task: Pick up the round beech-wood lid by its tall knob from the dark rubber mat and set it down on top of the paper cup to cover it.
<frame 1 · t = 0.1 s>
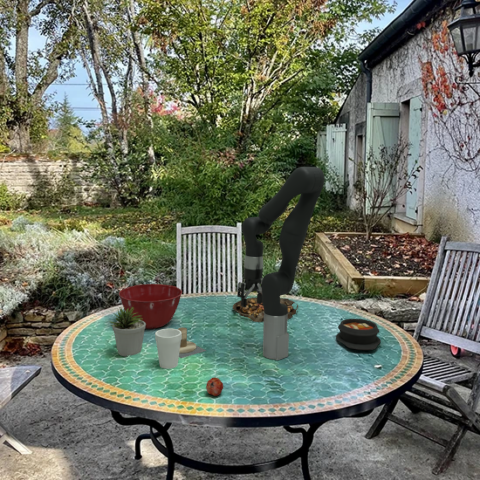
hand: (251, 305, 195), 17 cm above the table, tool pointing down, fingers open, 8 cm apart
mat: (182, 350, 192), on the table
food dish: (266, 312, 244), on the table
lid: (182, 348, 192), point 1 cm above the table, touching mat
casserole: (357, 343, 203), on the table
potted plant: (128, 353, 188), on the table
foam cup: (168, 367, 176), on the table
pomegranate: (214, 394, 156), on the table
mixing bowl: (151, 324, 222), on the table
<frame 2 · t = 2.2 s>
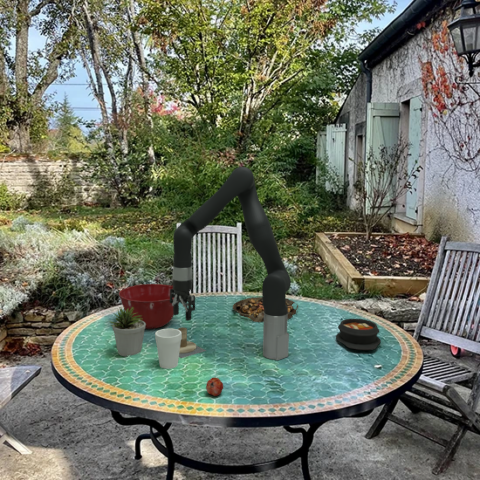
hand: (182, 317, 190), 13 cm above the table, tool pointing down, fingers open, 8 cm apart
nothing on the table moved.
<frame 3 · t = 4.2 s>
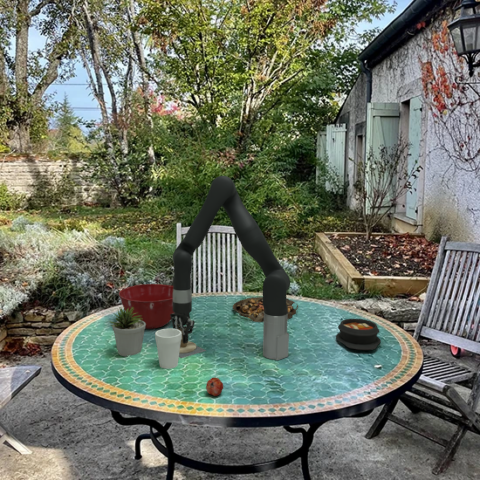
hand: (182, 341, 191), 4 cm above the table, tool pointing down, fingers closed on lid, 3 cm apart
lid: (182, 348, 192), point 1 cm above the table, touching gripper, mat
everything else where it was.
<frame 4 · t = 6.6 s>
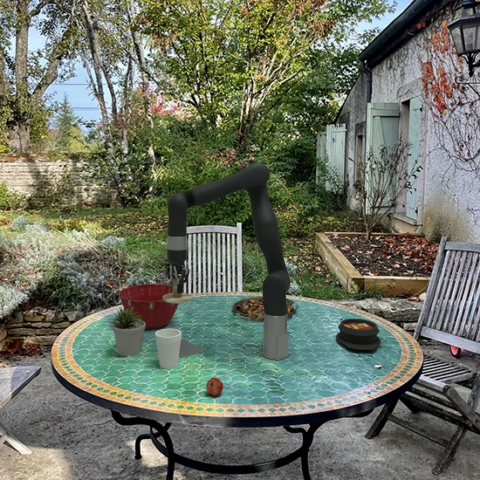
hand: (177, 291, 183), 25 cm above the table, tool pointing down, fingers closed on lid, 3 cm apart
lid: (177, 299, 183), point 23 cm above the table, touching gripper
everything else where it was.
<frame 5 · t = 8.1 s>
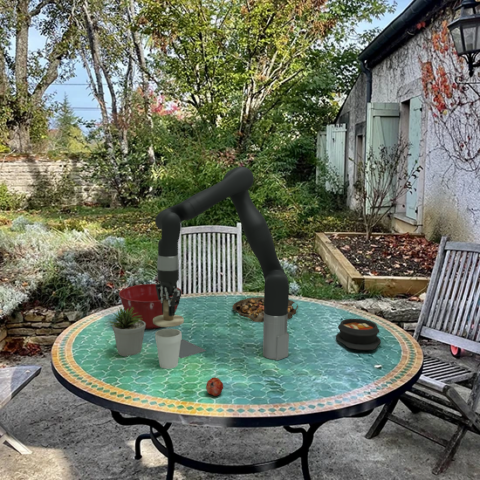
hand: (168, 314, 173), 20 cm above the table, tool pointing down, fingers closed on lid, 3 cm apart
lid: (168, 321, 173), point 17 cm above the table, touching gripper
everything else where it was.
when the fingers open (17 cm above the table, at t = 9.4 s): lid drops 1 cm, resting on foam cup.
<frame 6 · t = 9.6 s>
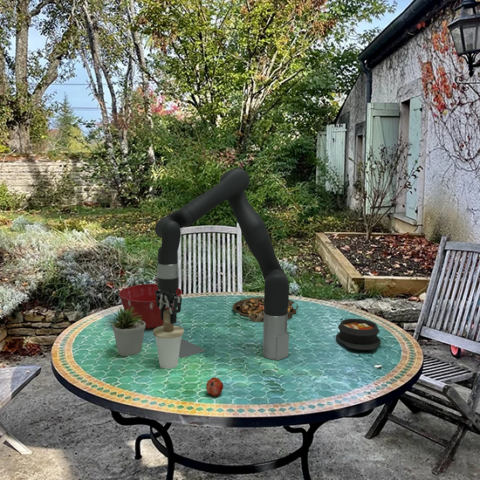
hand: (168, 320, 173), 18 cm above the table, tool pointing down, fingers open, 5 cm apart
lid: (168, 332, 174), point 13 cm above the table, touching foam cup
foam cup: (168, 367, 176), on the table, touching lid
everything else where it was.
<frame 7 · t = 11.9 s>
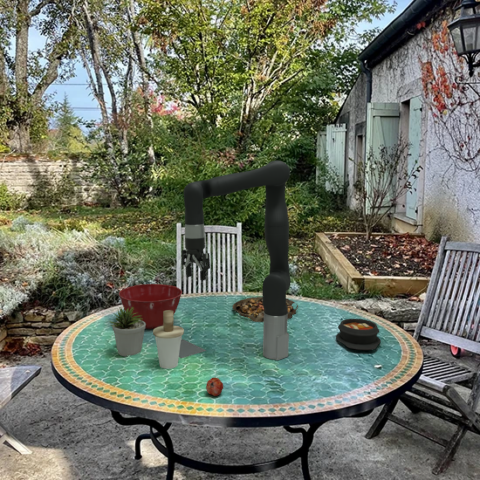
hand: (196, 278, 182), 31 cm above the table, tool pointing down, fingers open, 8 cm apart
nothing on the table moved.
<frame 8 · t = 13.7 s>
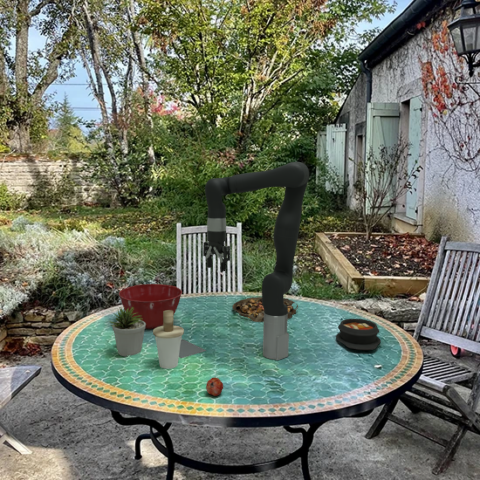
hand: (216, 269, 192), 32 cm above the table, tool pointing down, fingers open, 8 cm apart
nothing on the table moved.
at the end: lid inside the target area on the foam cup (0.0 cm from its centre), point 13.2 cm above the foam cup's base; lid tilted 0°; foam cup tilted 0° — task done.
